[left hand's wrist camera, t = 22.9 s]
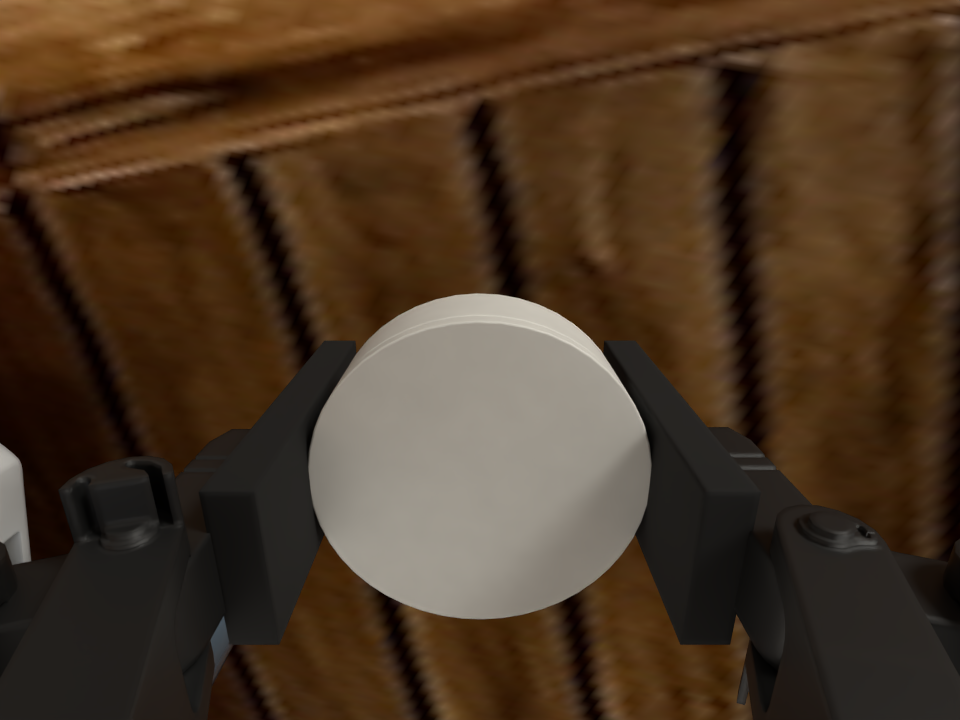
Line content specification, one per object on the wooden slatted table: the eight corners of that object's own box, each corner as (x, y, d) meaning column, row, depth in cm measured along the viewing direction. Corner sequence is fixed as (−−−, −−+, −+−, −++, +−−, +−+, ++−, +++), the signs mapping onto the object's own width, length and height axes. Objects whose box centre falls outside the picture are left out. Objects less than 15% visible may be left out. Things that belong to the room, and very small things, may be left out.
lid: (317, 295, 11) (284, 324, 9) (637, 289, 11) (669, 318, 9) (349, 555, 13) (327, 622, 11) (615, 552, 13) (637, 617, 11)
